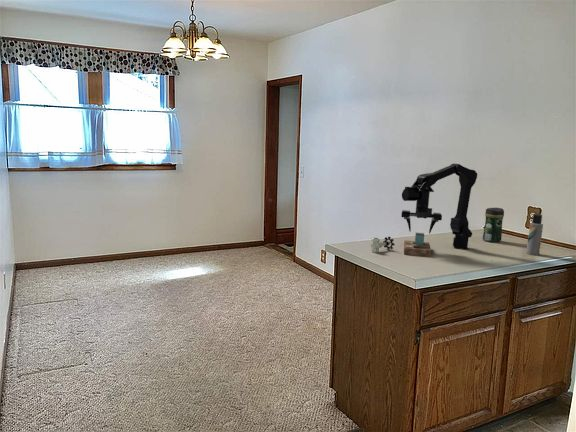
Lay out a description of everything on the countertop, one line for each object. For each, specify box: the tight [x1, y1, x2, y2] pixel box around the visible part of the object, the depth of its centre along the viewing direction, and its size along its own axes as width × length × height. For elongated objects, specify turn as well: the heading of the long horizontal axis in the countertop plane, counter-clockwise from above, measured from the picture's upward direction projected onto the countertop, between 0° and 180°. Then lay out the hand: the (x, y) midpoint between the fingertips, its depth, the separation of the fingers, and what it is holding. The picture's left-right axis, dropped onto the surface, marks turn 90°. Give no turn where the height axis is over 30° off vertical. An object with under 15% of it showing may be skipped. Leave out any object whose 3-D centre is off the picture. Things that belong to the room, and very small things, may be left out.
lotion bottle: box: [526, 213, 544, 256], centre depth 235 cm, size 6×6×20 cm
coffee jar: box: [482, 207, 505, 243], centre depth 262 cm, size 10×8×19 cm
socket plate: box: [403, 239, 432, 258], centre depth 231 cm, size 12×18×3 cm, turn 166°
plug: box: [414, 232, 425, 245], centre depth 234 cm, size 4×4×8 cm
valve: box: [370, 236, 395, 254], centre depth 228 cm, size 7×7×12 cm
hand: (419, 232), depth 234 cm, fingers open, 9 cm apart
